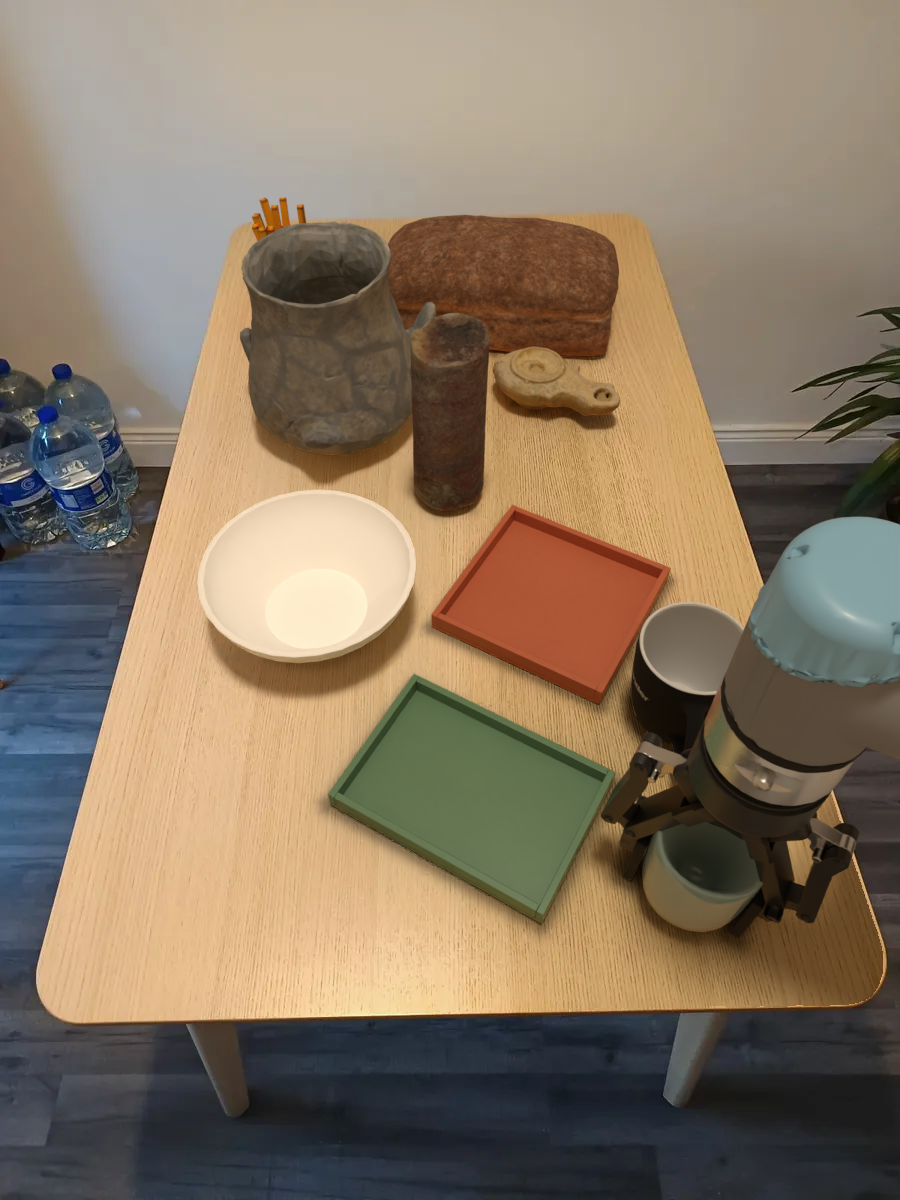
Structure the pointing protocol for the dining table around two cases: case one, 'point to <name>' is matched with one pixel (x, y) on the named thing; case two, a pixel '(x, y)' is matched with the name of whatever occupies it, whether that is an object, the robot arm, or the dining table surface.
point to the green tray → (475, 794)
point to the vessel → (327, 338)
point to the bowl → (307, 575)
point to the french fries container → (274, 217)
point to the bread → (510, 279)
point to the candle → (449, 409)
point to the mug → (681, 668)
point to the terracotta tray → (552, 602)
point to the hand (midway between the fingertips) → (685, 890)
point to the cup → (698, 876)
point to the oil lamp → (551, 383)
